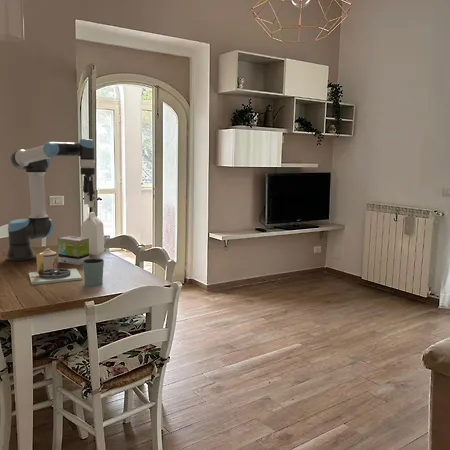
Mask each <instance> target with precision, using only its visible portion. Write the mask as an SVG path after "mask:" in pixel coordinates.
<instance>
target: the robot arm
mask: <svg viewBox="0 0 450 450" xmlns="http://www.w3.org/2000/svg"><path fill="white" fill-rule="evenodd" d="M56 157H79V165H80V167H81V168H80V175H82V176H83V177H82V178H83V179H82V180H83V182H82V183H83V184H82V192H83V205H87V207H88V208H94V207H95V205H94V194H95V190H94V183H93V182H94V181H93V175H95V173H96V172H95V171H96V169H95V168H94V167H95V163H96V161H95V142H94V140H93V139H90V138H80V139H79V142H71V141H70V142H64V141H63V142H62V141H61V142H60V141H47V142H45V143H44V144H43V145H38V146H36V147H32V148H28V149H19V150H15V151H13V152H12V153H11V154H10V160H9V161H10V163H11V164H12V166H13V167H14V168H16V169H18V170H21V171H22V170H23V171H25V173H26V174H27V175H28V181H29V182H28V183H29V199H30V200H29V201H30V215H29V216H28V218H18V219H14V220H11V221H9V222H8V226H7V232H8V250H7V252H6V260H7V261H10V262H13V261H14V262H23V261H29V260H33V259H34V258H35V254H34V253H35V252H34V251H33V248H32V246H31V240H36V239H43V238H44V239H45V238H47V237H50V236H51V235H52V234H53V232H54V222H53V220H52V219H51V218H50V216H49V215H48V214H47V209H46V204H47V203H46V189H45V174H46V173H47V170H48V169H49V168H50V166H51V158H56Z"/></svg>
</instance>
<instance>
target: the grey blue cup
mask: <svg viewBox="0 0 450 450" xmlns="http://www.w3.org/2000/svg"><path fill="white" fill-rule="evenodd" d="M104 263H105V261H104V259H103V258H97V257H93V258H92V257H91V258H90V257H89V259H85V260H83V264H82V268H83V277H84V285H85V286H87V287H98V286H102V284H103V283H104V282H103V281H104V280H103V279H104V265H105V264H104Z"/></svg>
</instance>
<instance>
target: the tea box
mask: <svg viewBox="0 0 450 450" xmlns="http://www.w3.org/2000/svg"><path fill="white" fill-rule="evenodd" d="M57 247H58V248H57V249H58V250H57V253H58V254H57V255H58V262H59V263H63V264H68V265H75V266H81V265H83V260H85V259H90V255H89V238H84V237H81V236H74V235H67V236H63V237H58V238H57Z"/></svg>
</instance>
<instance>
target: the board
mask: <svg viewBox="0 0 450 450" xmlns="http://www.w3.org/2000/svg"><path fill="white" fill-rule="evenodd" d="M67 269H68V270H70V271H71V273H70V275H68V276H66V277H61V278H42V277H39V274H38V273H37V271H34V272H33V271H32V272H31V271H30V272H28V277H29V280H30V283H31V285H41V284H42V285H44V284H52V283H63V282H74V281H81V280H83V277H82V275H81V274H80V272H79V270H78V269H77V268H67ZM60 272H63V271H60ZM49 276H51V275H49Z"/></svg>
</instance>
